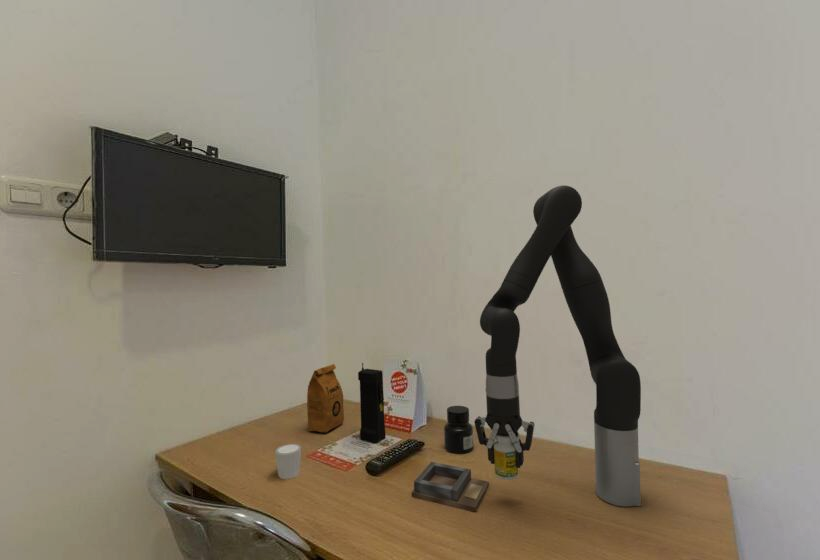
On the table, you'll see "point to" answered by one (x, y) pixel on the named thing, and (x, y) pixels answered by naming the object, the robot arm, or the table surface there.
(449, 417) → the ink bottle
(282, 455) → the white tapered cylinder
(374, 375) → the portable radio
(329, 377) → the coffee package
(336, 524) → the table surface
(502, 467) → the supplement bottle
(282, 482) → the table surface
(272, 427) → the table surface
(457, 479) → the socket stand
